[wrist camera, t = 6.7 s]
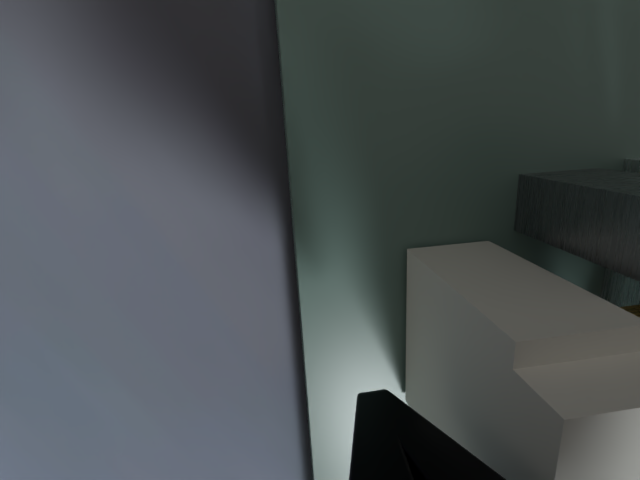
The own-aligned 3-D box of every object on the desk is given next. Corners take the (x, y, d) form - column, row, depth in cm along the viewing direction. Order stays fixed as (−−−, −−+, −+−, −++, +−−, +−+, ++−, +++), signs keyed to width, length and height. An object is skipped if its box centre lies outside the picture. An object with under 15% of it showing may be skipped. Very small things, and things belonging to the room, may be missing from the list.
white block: (537, 380, 12) (759, 586, 7) (405, 399, 12) (528, 640, 6) (556, 233, 11) (858, 344, 5) (407, 249, 10) (569, 388, 5)
